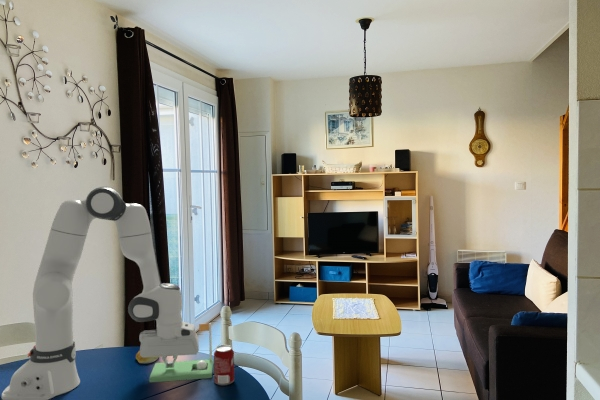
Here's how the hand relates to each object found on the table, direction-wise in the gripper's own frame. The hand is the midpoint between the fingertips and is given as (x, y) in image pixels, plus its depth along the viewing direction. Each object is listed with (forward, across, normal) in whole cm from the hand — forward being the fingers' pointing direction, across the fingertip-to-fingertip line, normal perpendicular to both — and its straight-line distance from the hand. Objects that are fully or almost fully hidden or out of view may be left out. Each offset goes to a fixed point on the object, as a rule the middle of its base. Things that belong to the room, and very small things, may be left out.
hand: (170, 367), depth 155 cm
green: (+2, +4, 0) cm, 5 cm away
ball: (+2, +10, 0) cm, 10 cm away
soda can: (+2, +19, -10) cm, 22 cm away
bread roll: (+3, -11, +14) cm, 18 cm away
